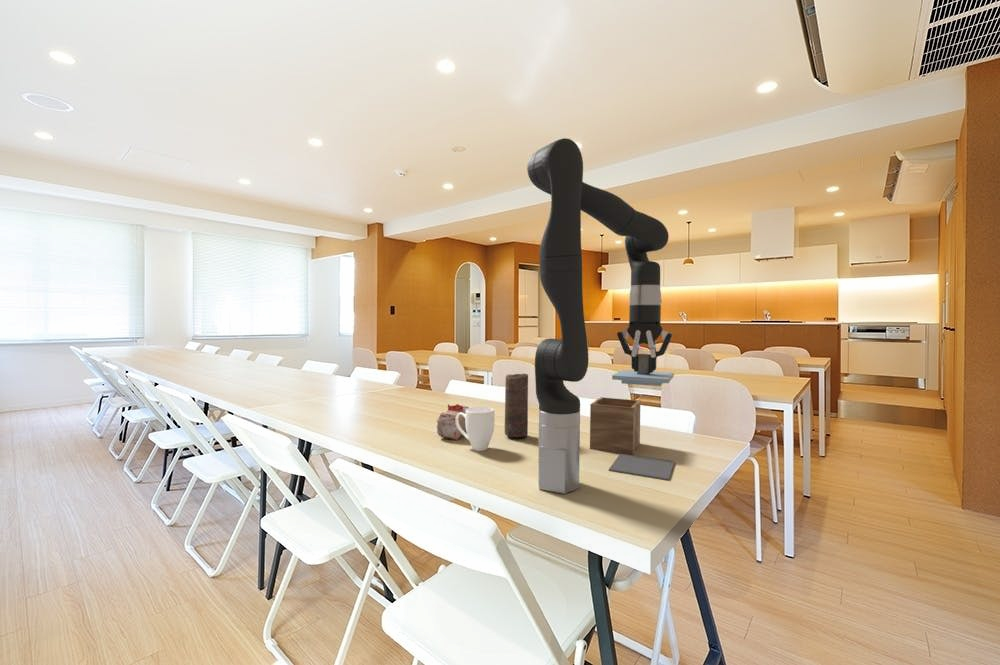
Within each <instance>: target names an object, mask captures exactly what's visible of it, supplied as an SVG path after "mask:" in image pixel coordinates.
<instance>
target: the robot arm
mask: <svg viewBox="0 0 1000 665" xmlns="http://www.w3.org/2000/svg"><path fill="white" fill-rule="evenodd" d="M526 170H527V174H528V175H527V176H528V179H530V180H529V181H531V183H532V184H533V185H534V186H535V188H538V189H539V190H540V191H542V192H544V193H546V194H548V195H550V197H551V198H550V199H551V202H550V203H551V204H550V213H549V217H548V220H547V224H546V226H545V229H544V232H543V235H542V238H541V241H540V242H541V243H540V245H539V252H538V253H539V254H538V259H539V278H540V279H539V280H540V283H541V285H542V288H543V290H544V292H545V294H546V296H547V298H548V300H549V301H550V303H551V304H552V306H553V307H554V310H555V313H556V314H557V316H558V319H559V325H560V334H561V338H545V339H543V340H542V341H540V343H539V344H538V346H537V348H536V351H535V356H534V376H535V377H534V380H535V396H536V398H537V402H538V489H539V490H542V491H547V492H554V493H557V494H563V495H566V494H567V493H570V492H573V491H576V490H578V489H579V488H580V459H581V458H580V455H581V454H580V451H581V450H580V448H581V446H580V445H581V444H580V441H581V440H580V439H581V437H580V436H581V430H580V429H581V400H580V398H579V397H578V395H575V394H574V393H573V392H571V391H570V390H569V389H568V387H566V385H565V384H564V381H565V382H570V383H571V382H573V383H574V382H575V383H577V382H580V381H582V380H583V379H584V378H585V376H586V375H587V371H588V367H589V346H588V338H587V330H586V321H585V312H584V298H583V292H584V291H583V254H582V229H581V228H582V222H581V220H582V219H581V217H582V216H581V215H582V214H581V212H584V213H585V214H586V215H589V216H590V217H592V218H594V219H595V220H596V221H598V222H599V223H600V224H601V225H603V226H604V227H605V228H607V229H608V230H610V231H611V232H612V233H614V234H616V235H617V236H620V237H624V248H625V251H626V255H627V259H628V263H629V266H630V267H629V268H630V290H629V308H628V310H629V314H628V315H629V316H628V317H629V318H628V326H627V329H625V330H623V331H622V330H621V331H618V332H617V333H616V336H617V339H618V341H619V343H620V345H621V348H622V349H623V352H624V354H626V355H629V356H630V358H631V370H634V372H637V354H639V350H640V347H641V345H643V344H646V345H648V349H649V352H650V353H649V354H651V358H650V373H653V371H654V372H656V370H657V360H658V359H657V358H658V357H661V356H663V355H665V353H666V351H667V349H668V347H669V344H670V342H671V340H672V339H673V335H674V334H673V333H672V332H668V331H665V330H663V327H662V325H661V324H662V323H661V315H662V314H661V313H662V312H661V311H662V308H661V307H662V292H661V265H660V264H659V263H658V262H656V261H651V260H649V257H648V254H647V253H650V252H651V253H652V252H657V251H659V250H662V249H664V248H665V246H667V244H668V241H669V232H668V228H667V227H666V226H665V224H664V223H663V222H662V221H661V220H658V219H656V218H655V217H653V216H651V215H649V214H646V213H644V212H640V211H638V210H636V209H635V208H634V207H633V206H631V205H630V204H629V203H627V202H626V201H625V200H624V199H622V198H621V197H619V196H618V195H616V194H614V193H613V192H609V191H607V190H604V189H602V188H599V187H595V186H593V185H590V184H588V183H587V182H584V181H583V180H584V160H583V156H582V152H581V150H580V147H579V145H578V144H577V143H576V142H575V141H574V140H572V139H570V138H565V137H564V138H560V139H557V140H555V141H552V142H550V143H549V144H547V145H545V146H543V147H541V148H540V149H538V150H537V151H536V152H534V153H533V154H532V155H531V156H530V158H529V159H528V161H527V168H526ZM628 335H629V336H630V338H631V339H632V340H633V344H632V348H631V347H630V345H629V344H628V340H627V339H628V338H629V337H628ZM661 335H662V338H661V339H662V340H663V342H662V343H661V346H660V348H659V350H657V344H656V341H657V339H659V337H660V336H661Z"/></svg>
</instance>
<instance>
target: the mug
mask: <svg viewBox="0 0 1000 665" xmlns="http://www.w3.org/2000/svg"><path fill="white" fill-rule="evenodd" d="M459 415H462V416H463V417H464V418H465V425H466V433H465V432H464V431H463V430H462V428H461V427H460V425H459V421H458V418H459ZM455 423H456V426H457V428H458V430H459V431H460V432H461V433H462V434H463V435H462V436H464V437H465V439H467V441H469V444H470V445H471V449H472V450H473V451H475V452H483V451H486V450H488V448H489V445H490V443H491V440H492V437H493V434H494V431H495V408H493V407H489V406H472V407H469V408H468V409H466V414H464V413H462V412H460V413H458V414H457V416H456V418H455Z"/></svg>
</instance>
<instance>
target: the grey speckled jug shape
mask: <svg viewBox="0 0 1000 665" xmlns="http://www.w3.org/2000/svg"><path fill="white" fill-rule="evenodd" d="M468 408H470V407H469V406H466V405H460V404H459V403H458V404H455V405H450V404H447V410H446V411H445V412H441V413H440V415H439V416H438V418H437V419H436V423H437V424H436V433H437V435H438V436H439V437H440V438H442V439H445V440H451V441H455V440H456V441H458V440H459V439H460V438H461V437H462V436H464V435H463V434H462V433H461V432H460V431H459V430H458V428H457V426H456V423H455V418H456V416H457V414H458V413H460V412H462V413H464V414H466V409H468ZM458 421H459V425H460V427H461V428H462V430H463V431H464V432H465V433H466V434H467V432H466V425H465V418H464V417H463V416H462V415H459V418H458Z"/></svg>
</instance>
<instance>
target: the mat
mask: <svg viewBox="0 0 1000 665" xmlns="http://www.w3.org/2000/svg"><path fill="white" fill-rule="evenodd" d="M674 465H675V460H668V459H663V458H656V457H649V456H641V455H640V456H639V455H635V454H633V455H631V454H624V453H618V456H617V457H616V459H615V460H614V461H613V463H612V464H611V466H610V467H608V471H610V472H616V473H621V474H626V475H627V474H628V475H633V476H639V477H645V478H650V479H657V480H664V481H669V480H670V478H671V475H672V472H673V469H674Z"/></svg>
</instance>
